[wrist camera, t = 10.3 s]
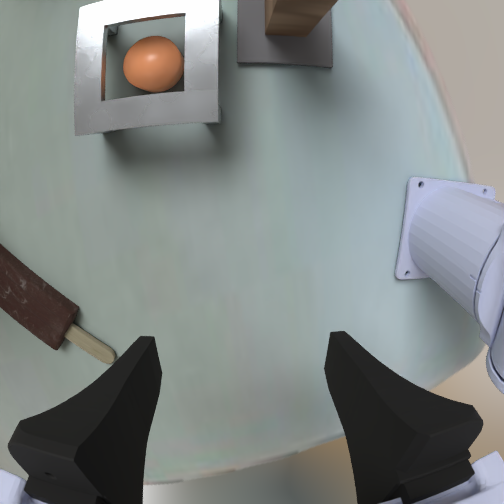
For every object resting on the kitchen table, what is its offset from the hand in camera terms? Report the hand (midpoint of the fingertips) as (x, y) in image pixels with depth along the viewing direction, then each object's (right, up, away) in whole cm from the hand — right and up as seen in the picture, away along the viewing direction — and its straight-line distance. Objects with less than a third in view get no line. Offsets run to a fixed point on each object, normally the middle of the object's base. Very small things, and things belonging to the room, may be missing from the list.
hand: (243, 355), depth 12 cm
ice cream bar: (-18, 0, +11) cm, 21 cm away
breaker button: (-6, +16, +6) cm, 18 cm away
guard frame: (-6, +16, +5) cm, 17 cm away
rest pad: (+2, +19, +4) cm, 19 cm away
